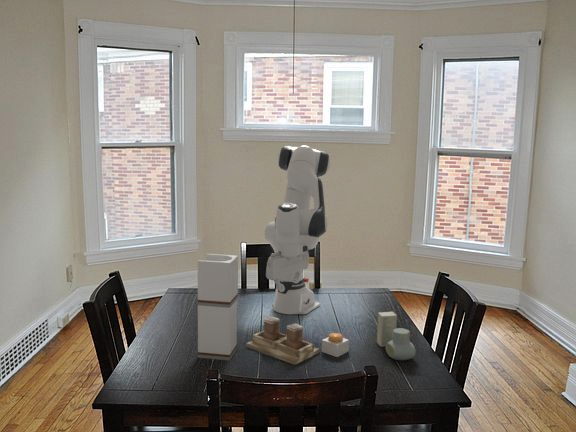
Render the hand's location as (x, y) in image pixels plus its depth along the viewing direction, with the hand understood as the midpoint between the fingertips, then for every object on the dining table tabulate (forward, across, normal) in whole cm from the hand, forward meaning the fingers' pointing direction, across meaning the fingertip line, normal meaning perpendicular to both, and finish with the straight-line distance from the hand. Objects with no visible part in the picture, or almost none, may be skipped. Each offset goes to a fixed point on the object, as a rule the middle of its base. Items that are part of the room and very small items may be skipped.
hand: (287, 285), depth 208 cm
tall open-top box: (+23, -22, +14) cm, 35 cm away
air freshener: (+24, +20, -36) cm, 48 cm away
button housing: (+24, +8, -16) cm, 30 cm away
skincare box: (+25, +27, -26) cm, 45 cm away
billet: (+22, -4, -6) cm, 23 cm away
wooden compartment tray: (+23, -4, -1) cm, 24 cm away
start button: (+21, +8, -16) cm, 28 cm away
